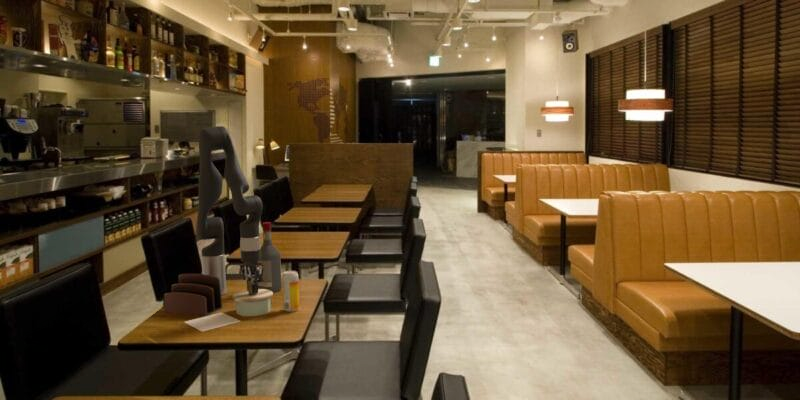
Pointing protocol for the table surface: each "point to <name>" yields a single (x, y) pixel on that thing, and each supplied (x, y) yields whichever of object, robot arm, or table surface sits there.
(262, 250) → the liquor
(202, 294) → the letter holder
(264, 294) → the lid
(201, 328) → the mat
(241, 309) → the bowl
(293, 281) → the beer can
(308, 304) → the table surface
